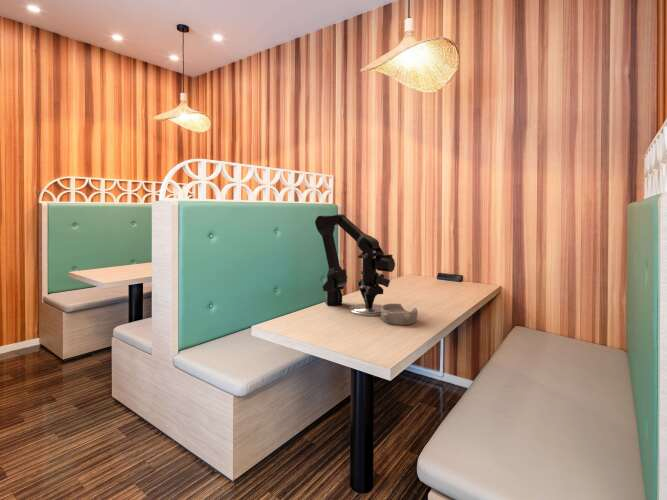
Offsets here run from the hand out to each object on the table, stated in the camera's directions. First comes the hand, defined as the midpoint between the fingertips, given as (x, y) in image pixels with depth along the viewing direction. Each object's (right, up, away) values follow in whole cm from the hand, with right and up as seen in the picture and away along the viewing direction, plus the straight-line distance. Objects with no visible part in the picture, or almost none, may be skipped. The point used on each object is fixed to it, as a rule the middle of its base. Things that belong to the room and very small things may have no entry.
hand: (368, 307), depth 154 cm
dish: (+10, -3, -13) cm, 17 cm away
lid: (0, -2, 0) cm, 2 cm away
